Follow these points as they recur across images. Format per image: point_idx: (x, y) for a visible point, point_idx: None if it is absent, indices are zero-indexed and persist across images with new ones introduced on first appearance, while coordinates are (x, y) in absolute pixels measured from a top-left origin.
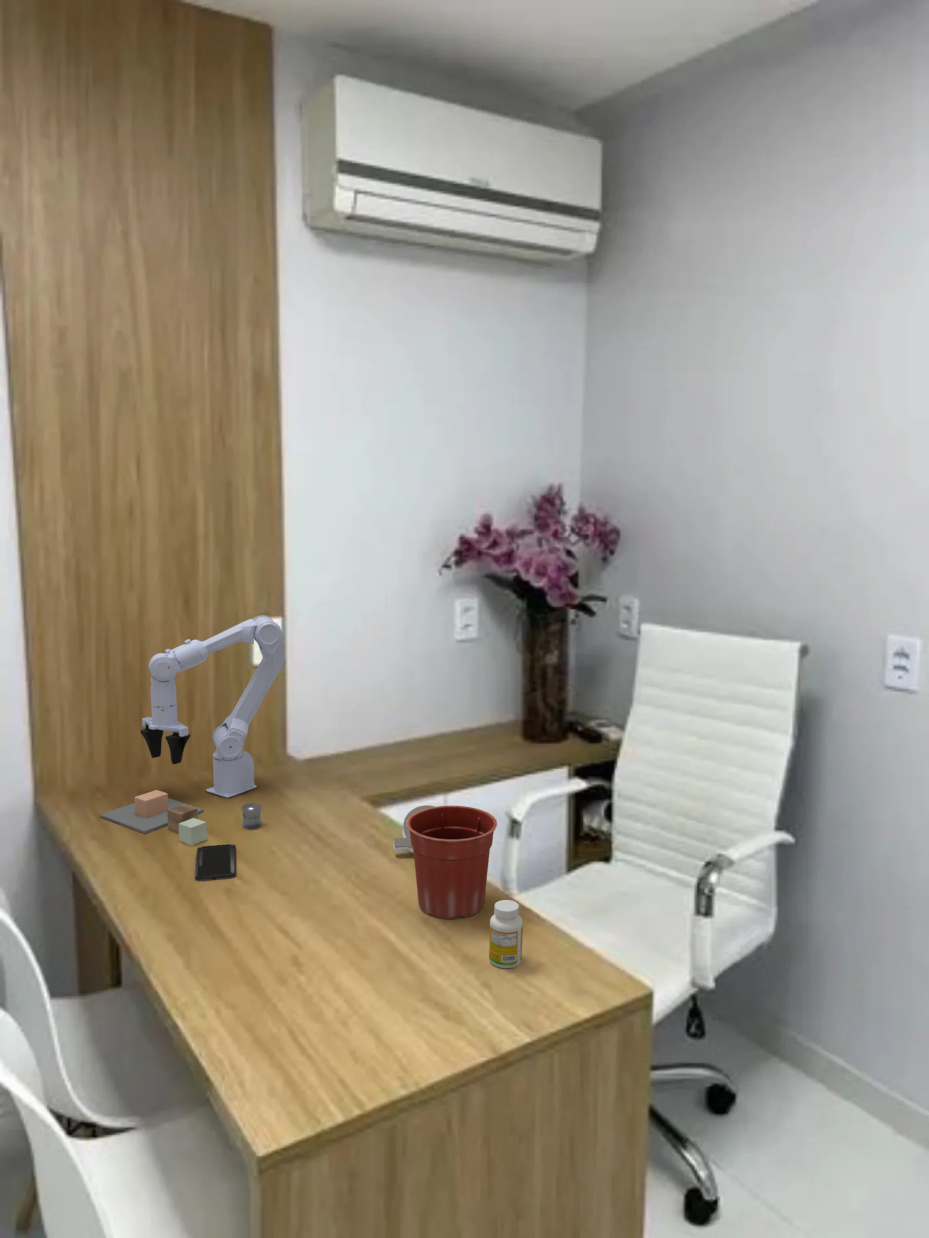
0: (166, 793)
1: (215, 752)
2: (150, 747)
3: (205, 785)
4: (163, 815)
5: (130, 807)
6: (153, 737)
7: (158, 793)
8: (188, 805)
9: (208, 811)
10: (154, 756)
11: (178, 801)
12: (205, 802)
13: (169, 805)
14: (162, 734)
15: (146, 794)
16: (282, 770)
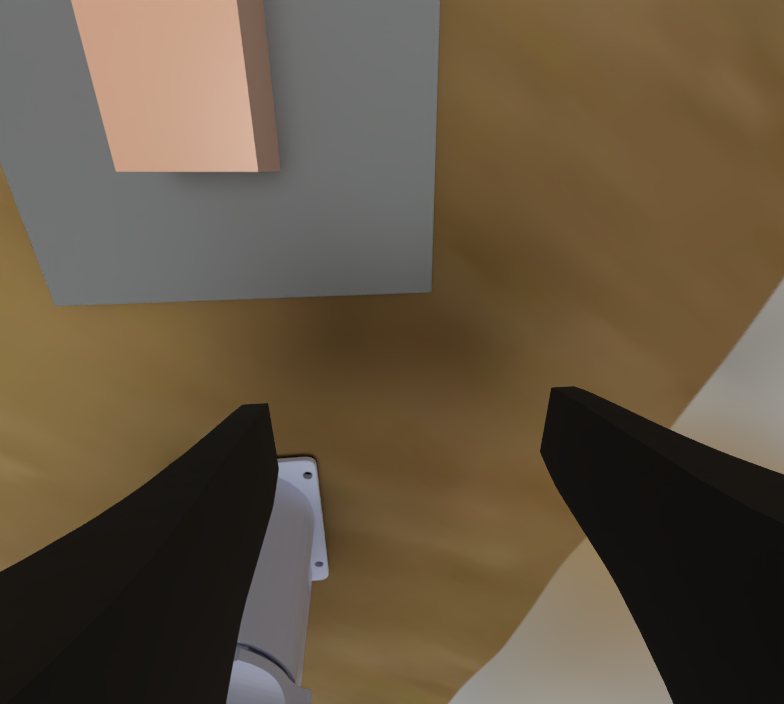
0: (126, 168)
1: (259, 688)
2: (633, 435)
3: (384, 490)
4: None
5: (391, 40)
6: (719, 587)
7: (168, 123)
8: (170, 293)
9: (57, 322)
10: (554, 405)
11: (264, 296)
12: (192, 383)
13: (243, 226)
14: (672, 697)
15: (211, 31)
16: None
